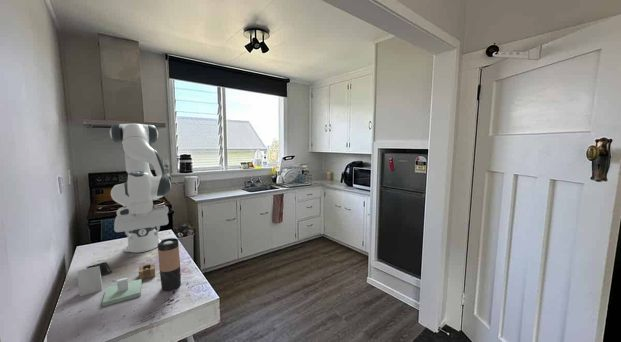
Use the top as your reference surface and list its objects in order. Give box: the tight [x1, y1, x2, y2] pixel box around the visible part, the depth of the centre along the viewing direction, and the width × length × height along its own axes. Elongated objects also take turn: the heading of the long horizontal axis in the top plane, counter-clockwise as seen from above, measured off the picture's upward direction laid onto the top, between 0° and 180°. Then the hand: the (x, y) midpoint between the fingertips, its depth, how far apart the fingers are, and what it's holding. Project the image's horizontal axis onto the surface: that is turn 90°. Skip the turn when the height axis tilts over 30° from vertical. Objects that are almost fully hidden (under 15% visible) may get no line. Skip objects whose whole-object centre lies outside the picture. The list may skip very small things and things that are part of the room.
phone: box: [85, 261, 112, 278], centre depth 120 cm, size 8×1×15 cm
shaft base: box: [101, 277, 143, 307], centre depth 102 cm, size 12×12×6 cm
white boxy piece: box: [77, 266, 103, 297], centre depth 103 cm, size 4×7×10 cm, turn 128°
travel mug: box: [157, 237, 182, 292], centre depth 105 cm, size 8×8×20 cm
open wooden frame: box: [138, 262, 156, 281], centre depth 115 cm, size 6×6×4 cm
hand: (143, 237), depth 113 cm, fingers open, 8 cm apart
